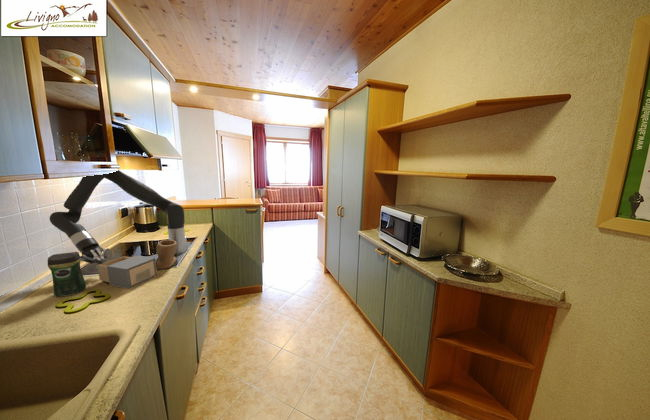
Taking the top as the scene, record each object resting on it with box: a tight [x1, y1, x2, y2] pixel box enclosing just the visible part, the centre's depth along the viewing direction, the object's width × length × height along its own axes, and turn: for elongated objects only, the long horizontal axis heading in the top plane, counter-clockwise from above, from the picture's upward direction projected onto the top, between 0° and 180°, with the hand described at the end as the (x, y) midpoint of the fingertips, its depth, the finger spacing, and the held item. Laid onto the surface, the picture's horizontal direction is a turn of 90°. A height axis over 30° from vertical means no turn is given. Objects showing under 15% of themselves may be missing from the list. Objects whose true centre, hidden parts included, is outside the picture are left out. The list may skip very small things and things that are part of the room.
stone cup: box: [155, 239, 178, 270], centre depth 133 cm, size 15×12×15 cm
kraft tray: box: [96, 256, 155, 286], centre depth 116 cm, size 12×20×8 cm, turn 77°
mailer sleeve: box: [107, 255, 158, 290], centre depth 115 cm, size 14×12×10 cm
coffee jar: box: [47, 251, 87, 298], centre depth 102 cm, size 10×8×19 cm
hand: (105, 266), depth 119 cm, fingers closed
